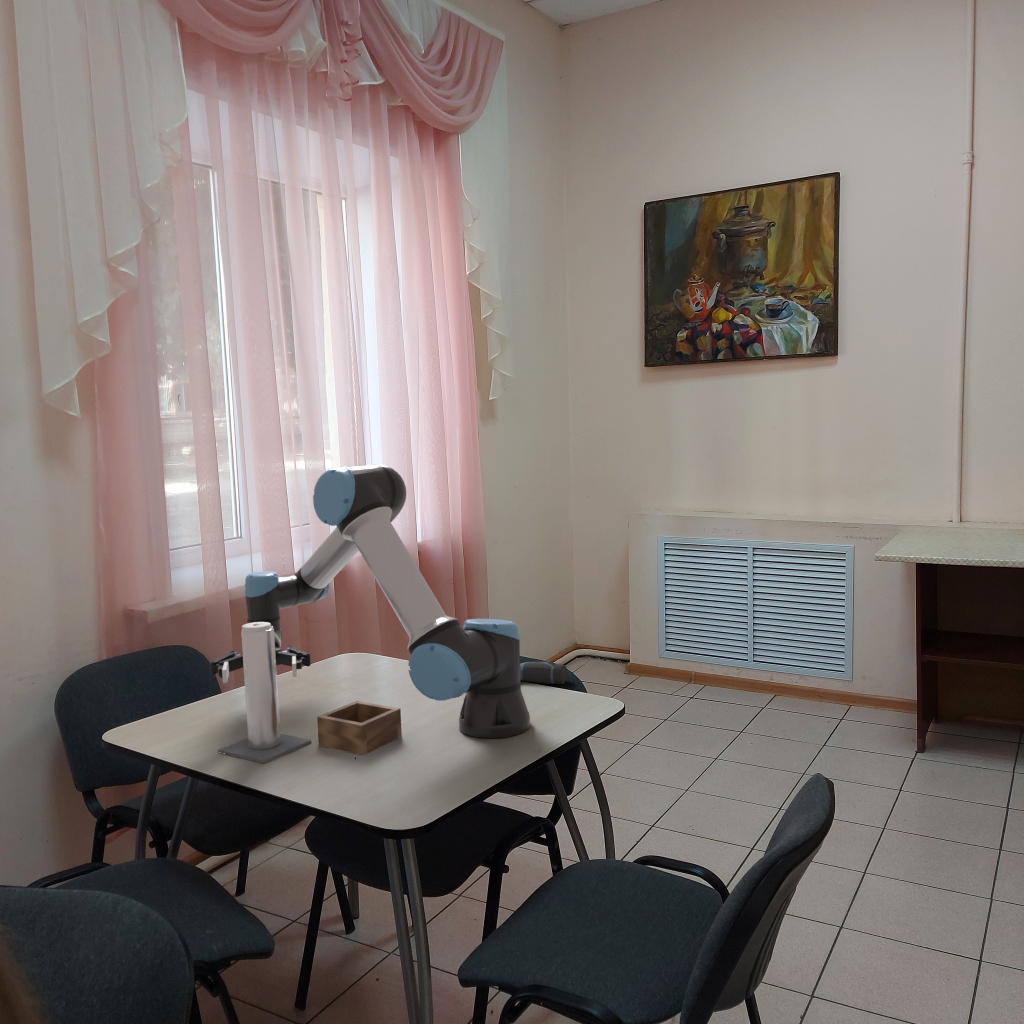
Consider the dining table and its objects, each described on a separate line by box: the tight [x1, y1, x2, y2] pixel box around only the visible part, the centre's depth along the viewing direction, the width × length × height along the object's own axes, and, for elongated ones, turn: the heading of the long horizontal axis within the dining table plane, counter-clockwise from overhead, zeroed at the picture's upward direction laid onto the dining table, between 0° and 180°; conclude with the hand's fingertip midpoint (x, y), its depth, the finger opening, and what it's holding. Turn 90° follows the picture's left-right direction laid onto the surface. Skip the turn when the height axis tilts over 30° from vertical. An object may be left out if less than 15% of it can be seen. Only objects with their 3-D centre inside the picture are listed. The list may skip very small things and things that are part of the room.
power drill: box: [520, 661, 568, 685], centre depth 227 cm, size 5×19×20 cm
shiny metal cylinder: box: [240, 622, 281, 750], centre depth 186 cm, size 6×6×25 cm
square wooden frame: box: [316, 700, 403, 756], centre depth 189 cm, size 12×12×6 cm
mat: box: [217, 732, 312, 764], centre depth 187 cm, size 13×13×1 cm
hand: (259, 673), depth 185 cm, fingers open, 13 cm apart
